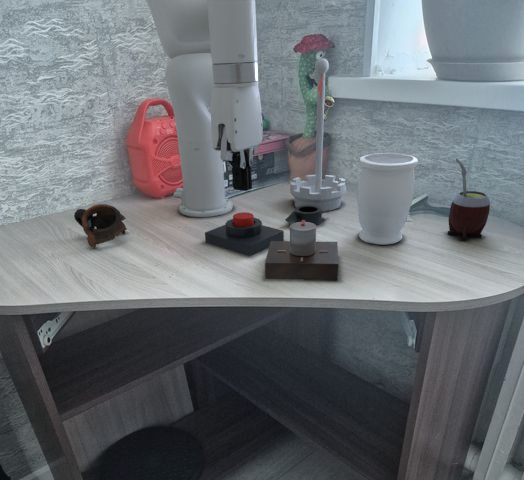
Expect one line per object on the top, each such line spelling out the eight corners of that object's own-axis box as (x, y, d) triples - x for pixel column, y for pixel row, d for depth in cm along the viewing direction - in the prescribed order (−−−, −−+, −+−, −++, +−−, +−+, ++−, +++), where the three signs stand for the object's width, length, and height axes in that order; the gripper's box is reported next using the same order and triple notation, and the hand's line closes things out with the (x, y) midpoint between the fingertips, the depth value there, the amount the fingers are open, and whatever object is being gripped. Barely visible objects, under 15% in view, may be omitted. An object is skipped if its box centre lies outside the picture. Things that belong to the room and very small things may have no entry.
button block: (205, 243, 96) (203, 223, 94) (240, 229, 102) (239, 210, 100) (249, 257, 89) (248, 236, 87) (283, 241, 95) (283, 221, 93)
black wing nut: (284, 217, 108) (284, 204, 106) (329, 216, 107) (330, 203, 106) (285, 229, 101) (284, 215, 100) (332, 228, 101) (333, 214, 99)
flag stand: (294, 196, 122) (295, 57, 105) (346, 197, 119) (355, 55, 103) (286, 211, 111) (285, 60, 95) (343, 213, 109) (352, 58, 92)
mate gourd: (483, 231, 96) (501, 151, 88) (482, 245, 90) (501, 161, 82) (444, 227, 99) (458, 150, 91) (441, 240, 93) (455, 159, 85)
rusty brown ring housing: (140, 234, 103) (132, 207, 95) (118, 267, 99) (108, 242, 91) (90, 216, 104) (79, 188, 97) (66, 248, 100) (53, 221, 93)
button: (229, 225, 94) (228, 216, 93) (243, 219, 96) (242, 210, 95) (244, 229, 91) (243, 220, 90) (258, 223, 94) (257, 214, 93)
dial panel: (265, 279, 81) (264, 262, 79) (271, 256, 89) (270, 240, 87) (337, 280, 79) (338, 262, 78) (336, 257, 88) (337, 240, 86)
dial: (315, 256, 80) (316, 228, 78) (289, 256, 81) (288, 228, 78) (315, 246, 84) (316, 219, 82) (290, 246, 85) (290, 219, 82)
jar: (408, 249, 90) (420, 165, 82) (352, 246, 92) (358, 164, 84) (406, 229, 99) (416, 152, 90) (355, 227, 100) (360, 151, 92)
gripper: (241, 73, 87) (247, 178, 97) (189, 79, 76) (202, 197, 86) (277, 72, 83) (280, 182, 93) (228, 78, 73) (237, 201, 82)
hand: (242, 188), depth 89 cm, fingers closed
